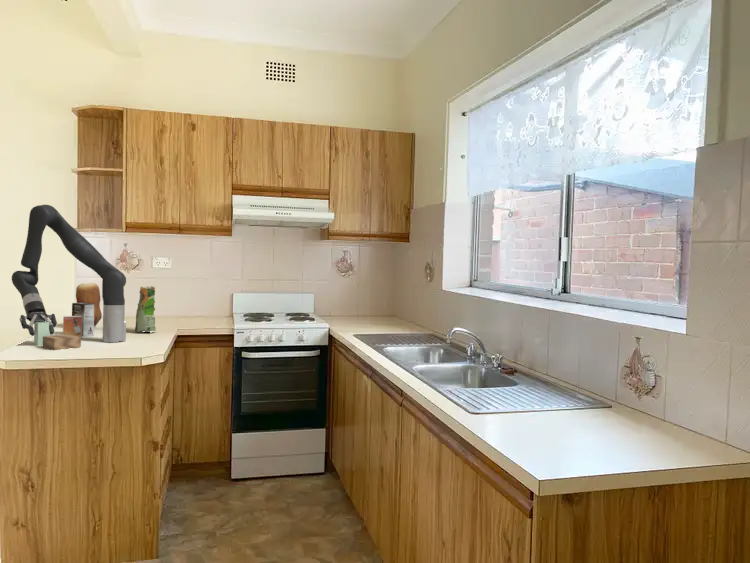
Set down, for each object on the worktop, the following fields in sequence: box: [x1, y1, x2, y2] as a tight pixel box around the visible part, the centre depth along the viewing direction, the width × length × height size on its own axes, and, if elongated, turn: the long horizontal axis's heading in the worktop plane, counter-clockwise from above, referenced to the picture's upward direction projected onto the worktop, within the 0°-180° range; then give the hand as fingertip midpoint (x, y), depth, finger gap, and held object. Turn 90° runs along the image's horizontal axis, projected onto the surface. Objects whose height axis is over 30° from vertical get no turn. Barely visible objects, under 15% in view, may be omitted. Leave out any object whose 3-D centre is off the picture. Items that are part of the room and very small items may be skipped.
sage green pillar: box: [33, 321, 50, 347], centre depth 258 cm, size 4×4×10 cm
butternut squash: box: [75, 282, 103, 328], centre depth 320 cm, size 14×13×25 cm
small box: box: [62, 315, 82, 338], centre depth 283 cm, size 8×6×10 cm
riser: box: [42, 334, 82, 351], centre depth 253 cm, size 11×11×5 cm
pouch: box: [134, 285, 157, 333], centre depth 310 cm, size 11×12×25 cm
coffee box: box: [71, 302, 95, 337], centre depth 294 cm, size 9×6×16 cm
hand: (42, 334), depth 257 cm, fingers open, 7 cm apart
